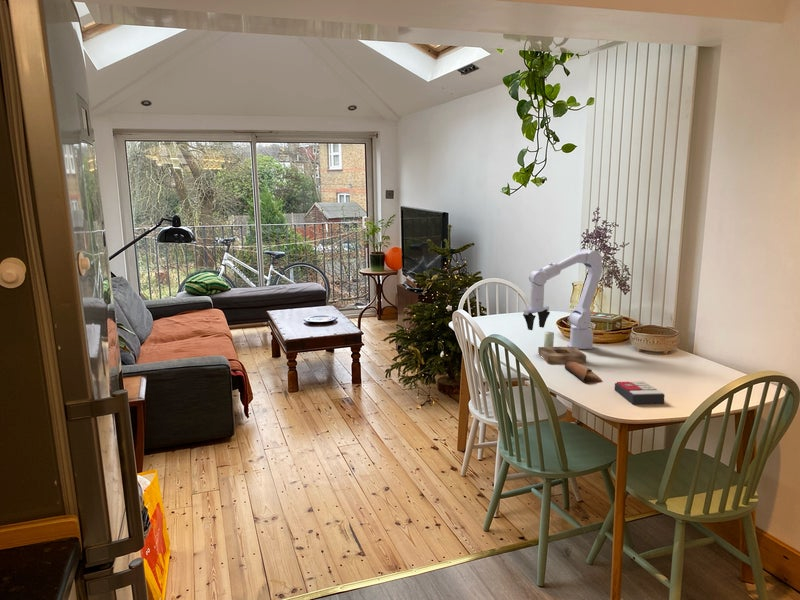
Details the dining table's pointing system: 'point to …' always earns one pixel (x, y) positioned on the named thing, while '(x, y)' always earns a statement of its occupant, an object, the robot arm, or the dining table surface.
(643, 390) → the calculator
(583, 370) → the brown pointed cylinder
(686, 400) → the dining table surface
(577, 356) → the peg board
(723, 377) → the dining table surface
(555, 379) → the dining table surface
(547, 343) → the peg
